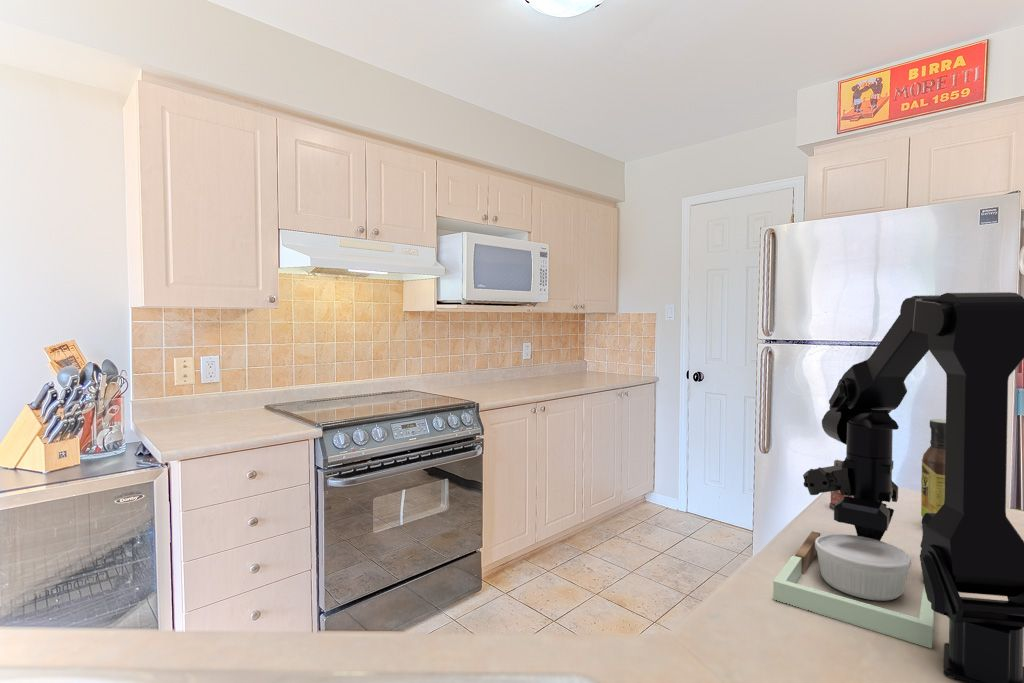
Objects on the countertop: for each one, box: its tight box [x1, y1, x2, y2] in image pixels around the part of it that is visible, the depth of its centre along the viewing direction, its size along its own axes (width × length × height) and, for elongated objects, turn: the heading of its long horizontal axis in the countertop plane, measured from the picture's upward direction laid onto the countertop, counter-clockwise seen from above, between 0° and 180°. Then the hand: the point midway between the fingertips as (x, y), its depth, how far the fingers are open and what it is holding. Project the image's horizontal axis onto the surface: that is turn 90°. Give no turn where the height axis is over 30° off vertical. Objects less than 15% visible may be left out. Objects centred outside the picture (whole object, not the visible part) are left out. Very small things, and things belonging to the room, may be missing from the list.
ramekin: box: [815, 533, 912, 602], centre depth 73 cm, size 11×11×5 cm
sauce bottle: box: [920, 418, 946, 518], centre depth 93 cm, size 6×6×20 cm
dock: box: [772, 555, 936, 650], centre depth 68 cm, size 10×16×2 cm, turn 50°
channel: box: [794, 531, 924, 584], centre depth 77 cm, size 12×16×3 cm
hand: (867, 556), depth 79 cm, fingers closed
